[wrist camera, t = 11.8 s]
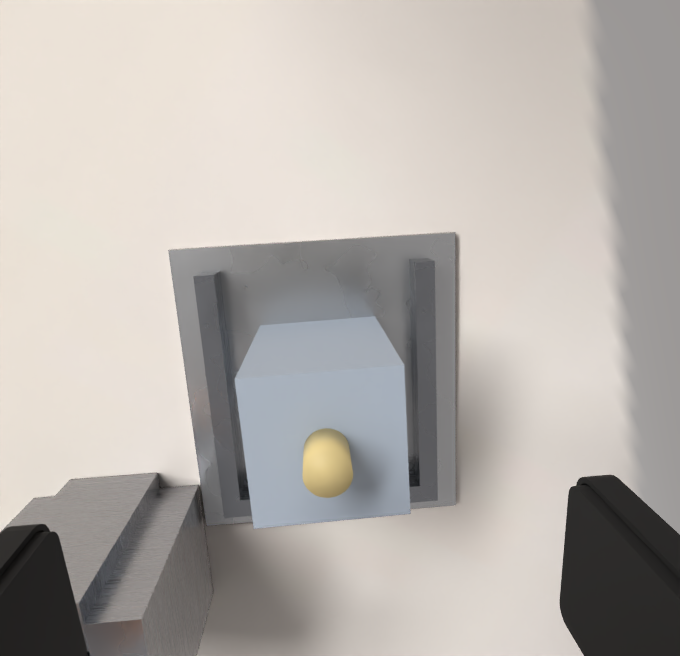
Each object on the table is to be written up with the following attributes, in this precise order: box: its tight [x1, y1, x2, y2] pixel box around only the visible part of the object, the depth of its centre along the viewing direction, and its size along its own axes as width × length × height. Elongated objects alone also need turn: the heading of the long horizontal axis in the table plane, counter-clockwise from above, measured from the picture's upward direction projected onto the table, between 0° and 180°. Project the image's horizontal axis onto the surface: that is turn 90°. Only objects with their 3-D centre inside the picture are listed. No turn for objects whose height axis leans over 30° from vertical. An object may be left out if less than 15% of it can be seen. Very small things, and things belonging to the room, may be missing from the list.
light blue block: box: [235, 316, 411, 529], centre depth 18 cm, size 5×5×8 cm
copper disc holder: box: [0, 473, 213, 656], centre depth 20 cm, size 8×8×8 cm
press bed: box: [168, 232, 456, 526], centre depth 21 cm, size 13×12×2 cm
